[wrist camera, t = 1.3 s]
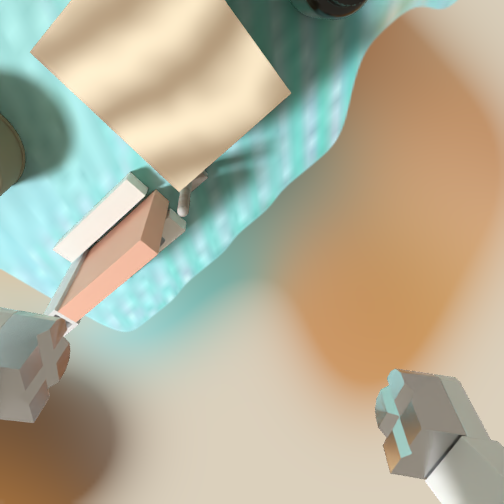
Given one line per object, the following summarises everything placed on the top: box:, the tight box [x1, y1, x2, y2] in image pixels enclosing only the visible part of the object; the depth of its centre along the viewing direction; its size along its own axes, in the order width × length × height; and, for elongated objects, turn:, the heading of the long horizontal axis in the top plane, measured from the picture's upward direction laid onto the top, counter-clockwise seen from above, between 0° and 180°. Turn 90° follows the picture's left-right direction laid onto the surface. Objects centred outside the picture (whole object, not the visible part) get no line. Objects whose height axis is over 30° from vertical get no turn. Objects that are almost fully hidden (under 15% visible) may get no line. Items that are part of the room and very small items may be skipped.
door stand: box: [53, 172, 186, 263], centre depth 50 cm, size 10×15×2 cm, turn 130°
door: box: [43, 190, 169, 337], centre depth 46 cm, size 4×17×13 cm, turn 130°
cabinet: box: [30, 0, 291, 217], centre depth 37 cm, size 20×17×12 cm
